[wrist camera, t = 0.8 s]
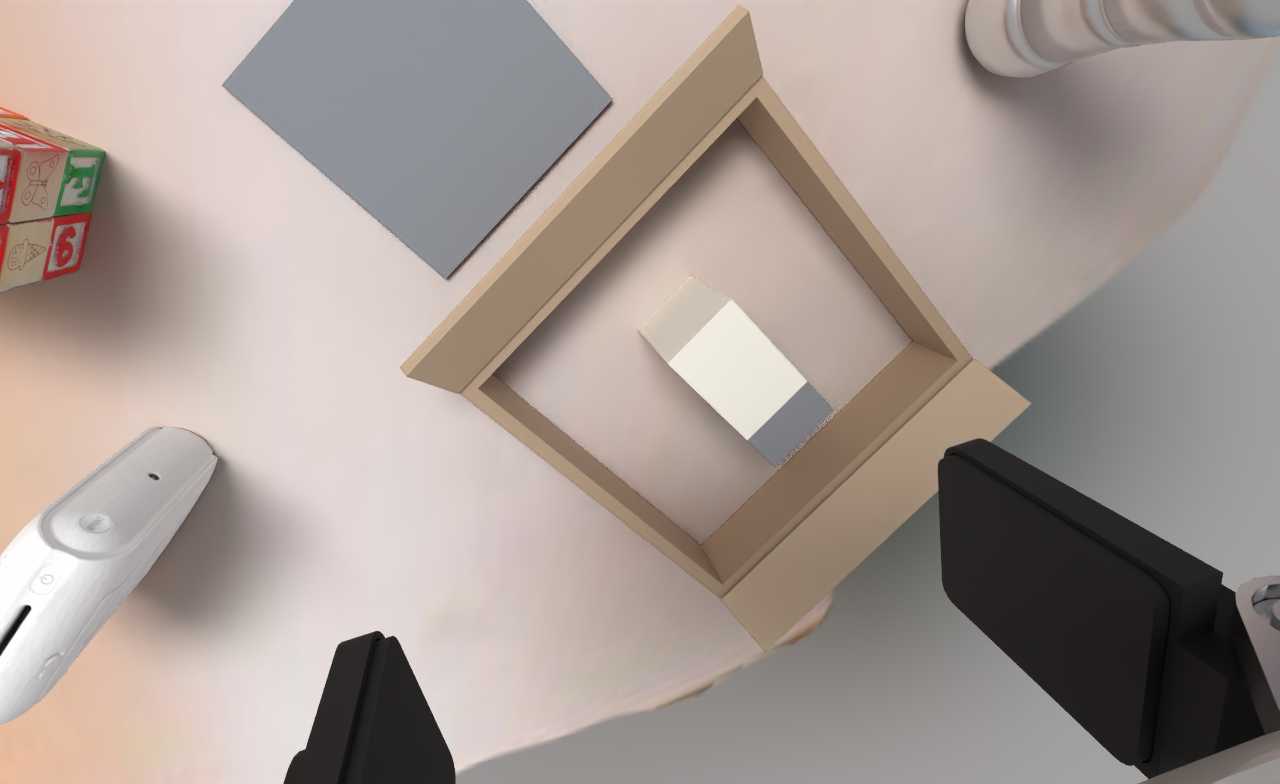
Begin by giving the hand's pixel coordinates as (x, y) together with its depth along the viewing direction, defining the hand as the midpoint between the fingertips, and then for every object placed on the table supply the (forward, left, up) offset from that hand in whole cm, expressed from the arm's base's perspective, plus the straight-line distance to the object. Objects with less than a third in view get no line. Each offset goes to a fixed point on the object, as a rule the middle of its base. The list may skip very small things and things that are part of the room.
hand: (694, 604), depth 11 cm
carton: (-4, +10, -28) cm, 30 cm away
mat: (-3, -11, -28) cm, 30 cm away
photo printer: (+24, -8, -29) cm, 38 cm away
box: (-4, +10, -28) cm, 30 cm away
